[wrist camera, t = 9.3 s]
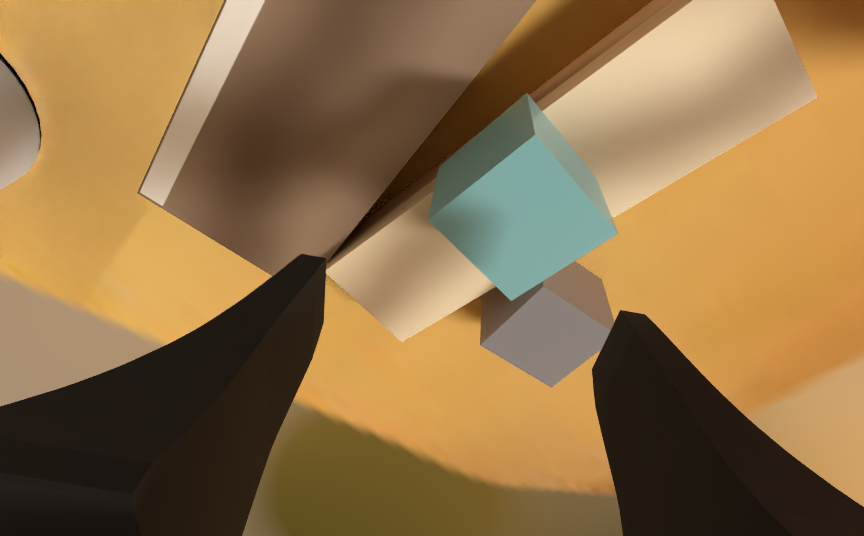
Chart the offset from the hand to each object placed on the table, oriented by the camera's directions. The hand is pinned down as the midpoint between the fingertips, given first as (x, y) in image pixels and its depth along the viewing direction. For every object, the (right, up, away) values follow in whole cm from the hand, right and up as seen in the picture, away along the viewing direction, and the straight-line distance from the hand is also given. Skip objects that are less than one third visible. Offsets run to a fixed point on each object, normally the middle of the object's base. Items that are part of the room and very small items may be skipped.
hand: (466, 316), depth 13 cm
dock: (-4, +10, +7) cm, 12 cm away
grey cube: (+3, 0, +10) cm, 10 cm away
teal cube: (+2, +5, +6) cm, 8 cm away
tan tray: (+3, +6, +9) cm, 11 cm away
